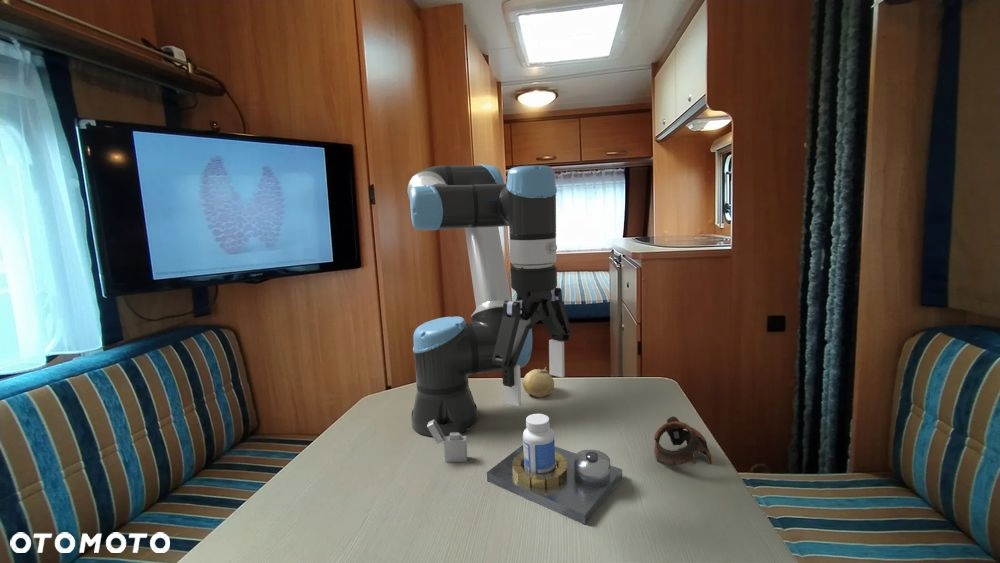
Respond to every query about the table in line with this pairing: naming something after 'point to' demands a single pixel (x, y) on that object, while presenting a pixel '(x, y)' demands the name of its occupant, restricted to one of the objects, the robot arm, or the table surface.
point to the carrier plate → (561, 481)
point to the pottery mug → (680, 443)
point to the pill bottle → (538, 445)
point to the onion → (538, 383)
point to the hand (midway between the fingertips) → (536, 388)
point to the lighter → (450, 443)
